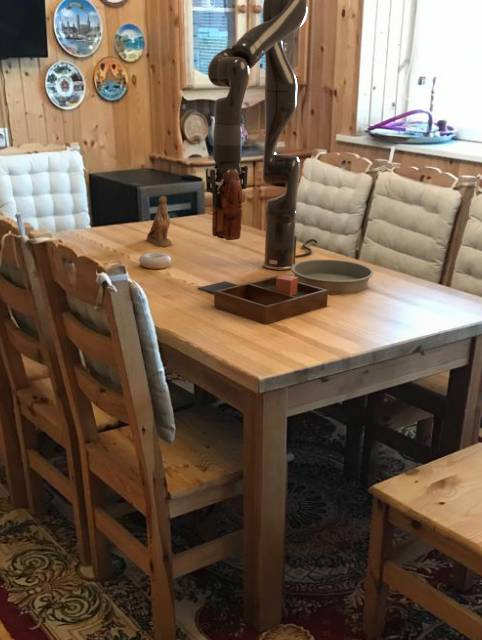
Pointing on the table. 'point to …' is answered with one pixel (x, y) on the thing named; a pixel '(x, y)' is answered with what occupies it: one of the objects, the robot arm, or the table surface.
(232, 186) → the wooden figurine
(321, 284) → the cake pan
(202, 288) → the rubber mat
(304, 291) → the walnut tray
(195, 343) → the table surface
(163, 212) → the worn brown figurine
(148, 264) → the donut
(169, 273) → the table surface
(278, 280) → the terracotta block
